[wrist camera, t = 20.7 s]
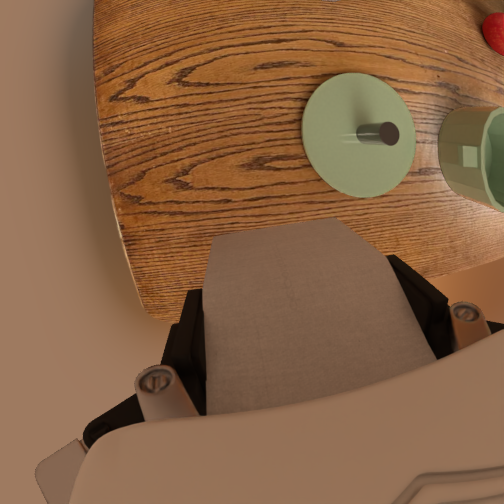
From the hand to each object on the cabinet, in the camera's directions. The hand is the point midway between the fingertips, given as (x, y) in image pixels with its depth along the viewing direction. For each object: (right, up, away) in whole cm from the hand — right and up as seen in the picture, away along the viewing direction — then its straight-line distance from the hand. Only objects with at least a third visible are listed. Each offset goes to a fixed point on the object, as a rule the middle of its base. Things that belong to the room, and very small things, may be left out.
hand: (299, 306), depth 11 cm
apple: (+39, +39, +11) cm, 56 cm away
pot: (+30, +17, +19) cm, 39 cm away
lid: (+11, +15, +17) cm, 26 cm away
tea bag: (0, +2, +5) cm, 5 cm away
